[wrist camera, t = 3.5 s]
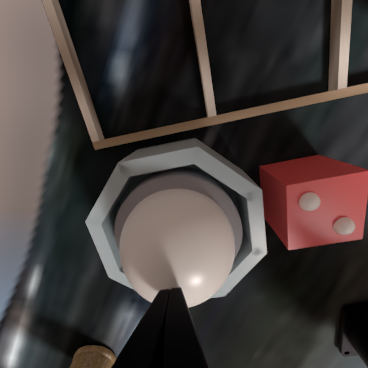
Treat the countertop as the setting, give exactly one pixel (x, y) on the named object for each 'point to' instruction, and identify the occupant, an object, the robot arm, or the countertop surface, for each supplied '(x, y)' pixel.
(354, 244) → the countertop surface
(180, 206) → the dome
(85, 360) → the sprinkles bottle
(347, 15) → the wooden frame with crossbars
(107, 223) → the dome base
